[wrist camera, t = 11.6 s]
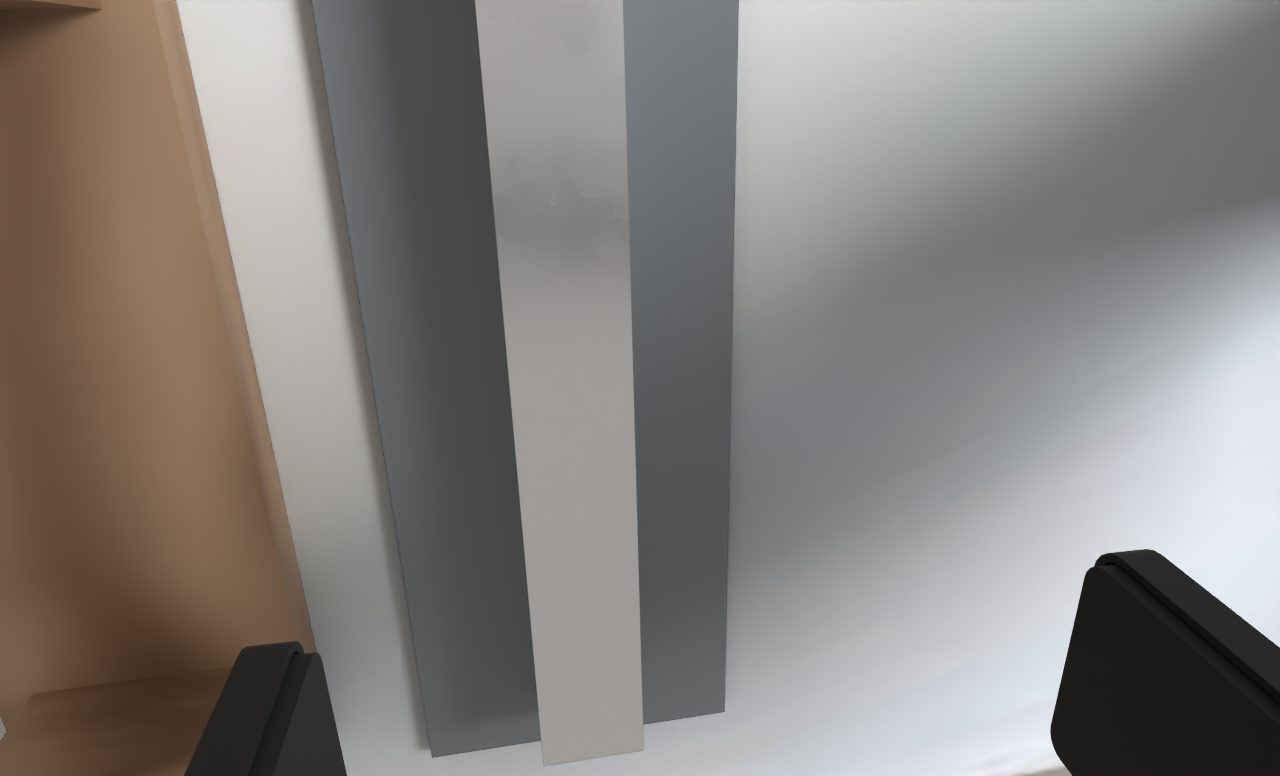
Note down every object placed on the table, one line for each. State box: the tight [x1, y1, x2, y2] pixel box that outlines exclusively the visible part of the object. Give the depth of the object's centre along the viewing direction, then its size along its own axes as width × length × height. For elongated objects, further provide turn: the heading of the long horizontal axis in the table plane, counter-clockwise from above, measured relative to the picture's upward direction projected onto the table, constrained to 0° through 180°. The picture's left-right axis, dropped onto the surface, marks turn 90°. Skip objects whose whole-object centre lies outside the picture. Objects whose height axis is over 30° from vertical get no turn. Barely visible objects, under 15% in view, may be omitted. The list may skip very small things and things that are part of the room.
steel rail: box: [475, 0, 644, 766], centre depth 21 cm, size 3×24×3 cm, turn 1°
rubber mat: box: [312, 0, 739, 758], centre depth 23 cm, size 10×28×1 cm, turn 1°
